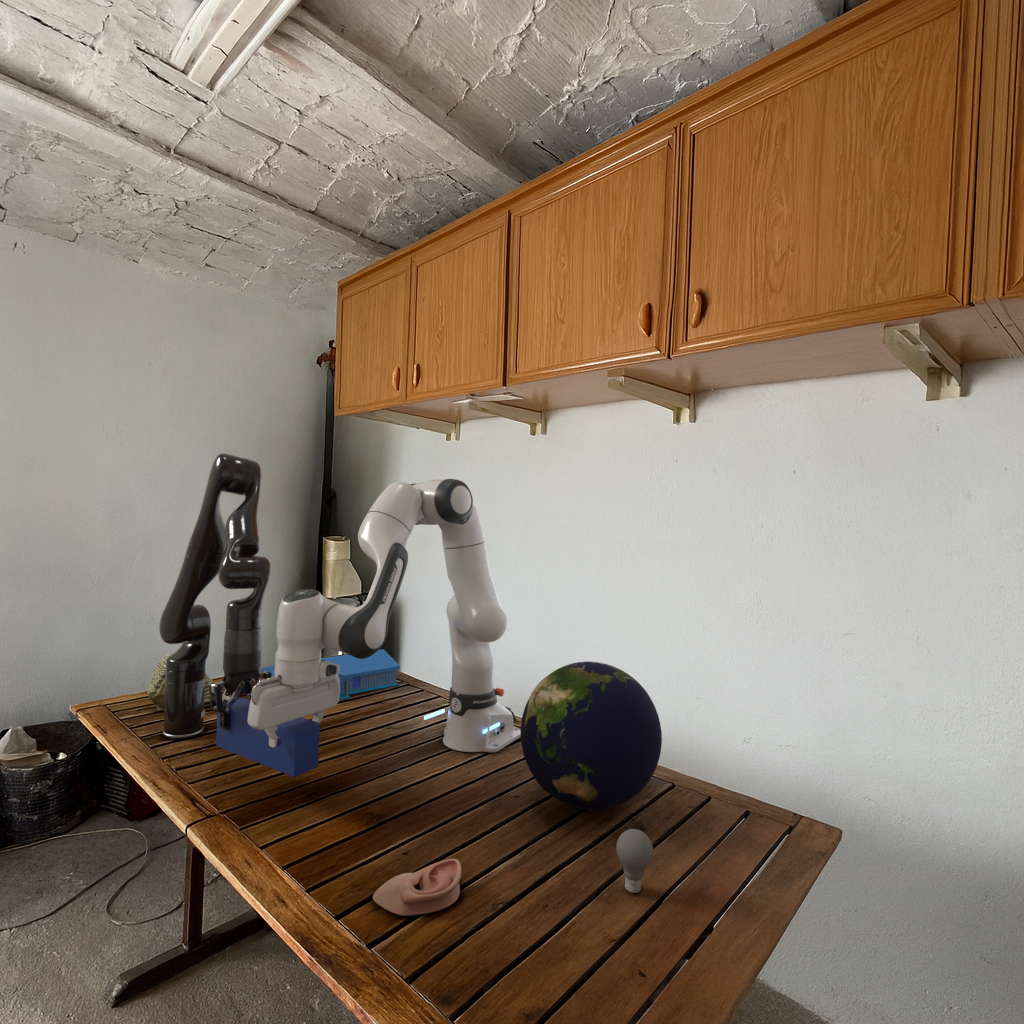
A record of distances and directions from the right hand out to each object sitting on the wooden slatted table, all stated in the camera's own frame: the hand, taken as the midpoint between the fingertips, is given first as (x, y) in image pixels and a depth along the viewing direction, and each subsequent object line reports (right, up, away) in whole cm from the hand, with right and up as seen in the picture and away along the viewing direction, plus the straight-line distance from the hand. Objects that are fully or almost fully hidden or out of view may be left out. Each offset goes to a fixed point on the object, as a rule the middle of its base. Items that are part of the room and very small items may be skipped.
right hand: (294, 739), depth 128 cm
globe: (+60, -17, +8) cm, 63 cm away
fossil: (-52, -11, +57) cm, 78 cm away
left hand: (-15, 0, +10) cm, 18 cm away
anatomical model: (+29, -16, -26) cm, 42 cm away
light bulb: (+64, -18, -22) cm, 70 cm away
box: (-8, -5, +5) cm, 11 cm away
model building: (-15, -12, +80) cm, 82 cm away
